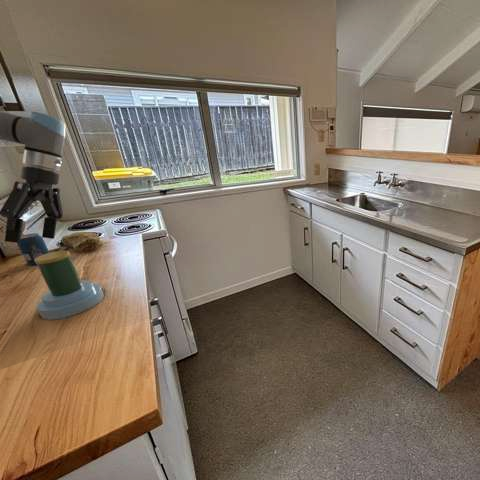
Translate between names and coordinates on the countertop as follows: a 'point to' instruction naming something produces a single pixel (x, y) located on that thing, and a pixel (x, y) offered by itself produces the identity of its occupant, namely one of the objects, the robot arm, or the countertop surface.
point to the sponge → (82, 241)
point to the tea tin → (59, 273)
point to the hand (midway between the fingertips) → (31, 239)
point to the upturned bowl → (70, 301)
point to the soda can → (32, 247)
